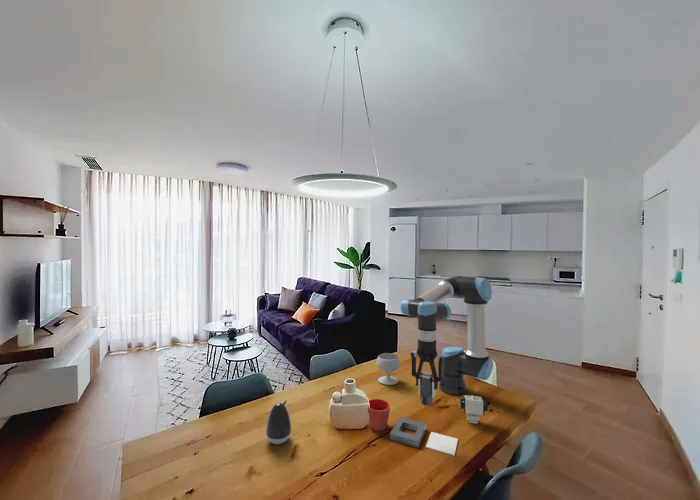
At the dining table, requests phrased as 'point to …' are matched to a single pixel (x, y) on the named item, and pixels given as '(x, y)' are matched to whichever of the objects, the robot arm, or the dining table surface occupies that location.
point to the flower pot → (378, 414)
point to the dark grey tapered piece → (278, 424)
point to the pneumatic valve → (473, 407)
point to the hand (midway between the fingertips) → (426, 394)
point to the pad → (442, 443)
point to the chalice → (388, 367)
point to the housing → (406, 437)
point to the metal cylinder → (426, 388)
